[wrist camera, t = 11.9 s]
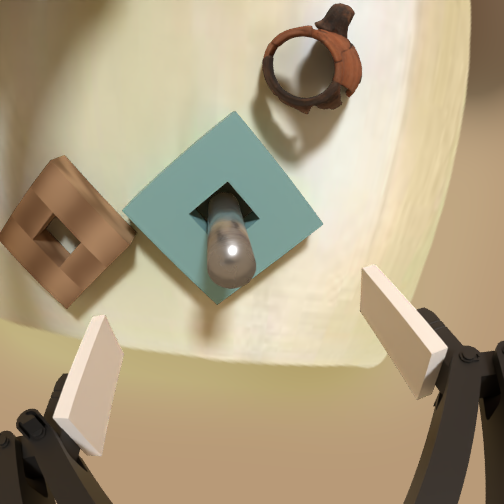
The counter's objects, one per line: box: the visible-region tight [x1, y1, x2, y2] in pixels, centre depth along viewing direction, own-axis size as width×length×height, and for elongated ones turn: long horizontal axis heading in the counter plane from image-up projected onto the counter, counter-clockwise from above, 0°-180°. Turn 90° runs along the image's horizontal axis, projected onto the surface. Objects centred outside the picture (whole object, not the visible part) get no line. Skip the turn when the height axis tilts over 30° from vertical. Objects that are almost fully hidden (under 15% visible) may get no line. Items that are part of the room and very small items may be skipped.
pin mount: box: [0, 155, 137, 309], centre depth 31 cm, size 12×12×4 cm
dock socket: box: [122, 111, 323, 305], centre depth 32 cm, size 14×14×4 cm
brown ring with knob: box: [262, 3, 362, 114], centre depth 26 cm, size 12×10×8 cm
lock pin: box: [207, 192, 256, 289], centre depth 27 cm, size 3×3×14 cm
